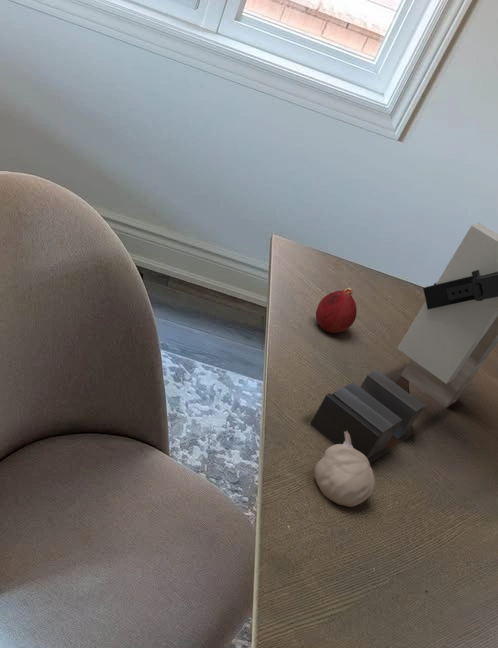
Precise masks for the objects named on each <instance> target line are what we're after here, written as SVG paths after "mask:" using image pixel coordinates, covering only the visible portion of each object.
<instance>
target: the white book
mask: <svg viewBox="0 0 498 648" xmlns="http://www.w3.org/2000/svg"><path fill="white" fill-rule="evenodd" d="M476 270H479V273H480V275H481V276H482V275H486V274H490V273H494V272H498V233H497V232H495V231H494V230H492V229H490V228H489V227H487V226H485V225H484V224H483V223H481V222H477V223H474V224H472V225H470V227H469V228H468V230H467V232H466V234H465V235H464V237H463V238H462V240H461V242H460V244H459V245H458V247H457V248H456V250H455V252H454V254H453V255H452V257H451V258H450V260H449V262H448V264H446V267H445V269H444V270H443V272H442V273H441V275H440V277H439V279H438V280H437V281H436V282H435V283H436V285H437V284H441V283H445V282H449V281H453V280H457V279H462V278H466V277H470V276H472V272H473V271H476ZM497 316H498V297H494V298H489V299H484V300H482V301H476V300H475V299H474V300H470V301H465V302H460V303H456V304H451V305H446V306H442V307H437V308H432V309H428V308H427V304H426V300H425V302H424V303H423V305H421V308H420V310H419V311H418V313H417V315H416V316H415V318H414V320H413V321H412V323H411V325H410V326H409V328H408V329H407V331H406V333H405V335H404V336H403V337H402V339H401V341H400V342H399V345H398V346H397V348H396V349H397V350H398V351H400V352H401V353H403V354H404V355H405V356H407V357H408V358H409V359H410V360H411V359H412V360H414V361H415V362H416V363H418V364H419V365H421V366H422V367H423V368H425V369H426V370H428V371H429V372H430V373H432V374H433V375H434V376H436V377H437V378H439V379H440V380H441V381H443V382H444V383H446V384H447V383H448V382H450V381H452V380H453V379H454V378H455V376H456V375H457V374H458V372H459V371H460V369H461V368H462V366H463V365H464V363H465V362H466V361H467V359H468V358H469V356H470V355H471V353H472V352H473V350H474V349H475V348H476V346H477V345H478V343H479V342H480V340H481V339H482V338H483V336H484V335H485V333H486V332H487V330H488V329H489V327H490V326H491V325H492V323H493V322H494V320H495V319H496V317H497Z"/></svg>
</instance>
